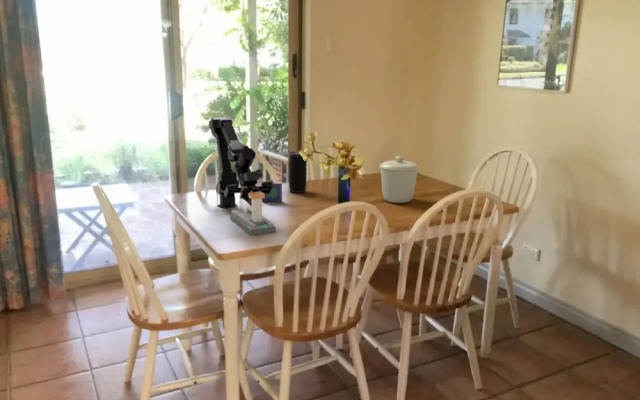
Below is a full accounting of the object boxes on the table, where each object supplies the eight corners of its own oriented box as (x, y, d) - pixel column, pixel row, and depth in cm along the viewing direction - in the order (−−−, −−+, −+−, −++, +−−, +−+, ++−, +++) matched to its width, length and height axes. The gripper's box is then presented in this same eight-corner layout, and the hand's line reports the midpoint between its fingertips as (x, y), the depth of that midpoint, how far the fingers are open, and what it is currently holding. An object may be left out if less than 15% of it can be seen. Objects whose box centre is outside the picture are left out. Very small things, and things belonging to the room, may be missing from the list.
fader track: (229, 218, 220) (229, 210, 219) (252, 215, 225) (252, 207, 224) (250, 235, 200) (250, 226, 199) (275, 231, 204) (275, 223, 203)
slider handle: (248, 222, 208) (247, 192, 205) (260, 220, 210) (260, 191, 207) (253, 225, 204) (252, 195, 201) (265, 224, 206) (265, 194, 203)
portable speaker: (306, 189, 269) (306, 150, 264) (306, 194, 260) (306, 154, 255) (289, 189, 269) (289, 150, 264) (288, 194, 260) (288, 153, 255)
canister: (416, 207, 241) (419, 160, 235) (376, 204, 244) (377, 158, 239) (417, 197, 258) (420, 153, 252) (379, 194, 261) (381, 151, 256)
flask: (282, 201, 248) (281, 178, 245) (282, 202, 245) (282, 179, 242) (261, 201, 247) (261, 178, 244) (261, 203, 244) (261, 179, 241)
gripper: (225, 164, 203) (236, 199, 197) (271, 160, 212) (283, 194, 205) (220, 180, 212) (229, 215, 205) (264, 176, 220) (275, 209, 214)
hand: (255, 208), depth 207 cm, fingers closed, pressing on slider handle
